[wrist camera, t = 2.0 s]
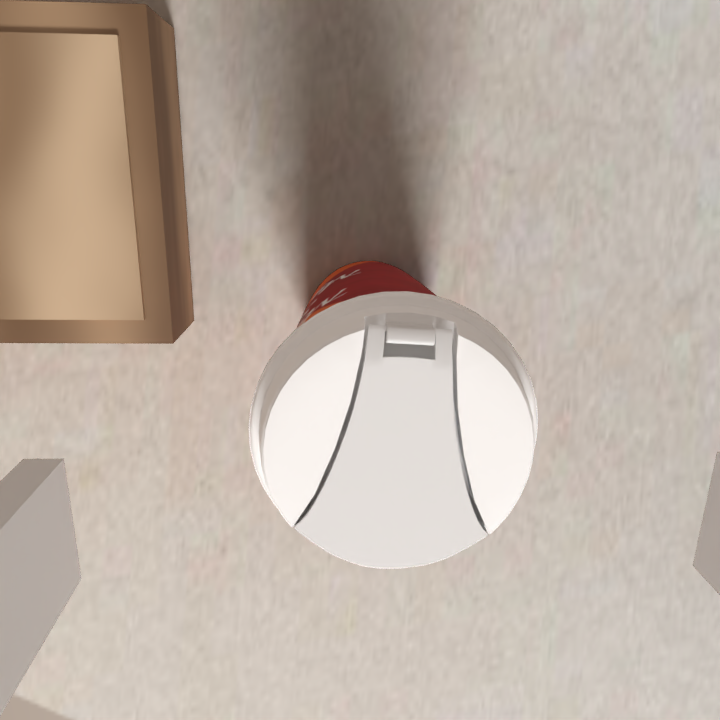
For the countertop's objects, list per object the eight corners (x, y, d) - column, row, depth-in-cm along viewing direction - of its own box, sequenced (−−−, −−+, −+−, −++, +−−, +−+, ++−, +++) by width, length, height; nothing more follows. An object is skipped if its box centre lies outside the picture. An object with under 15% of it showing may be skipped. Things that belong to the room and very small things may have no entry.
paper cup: (288, 230, 27) (243, 292, 13) (459, 242, 27) (580, 312, 14) (282, 395, 29) (239, 587, 16) (440, 403, 30) (528, 597, 16)
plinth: (173, 28, 24) (144, 2, 20) (193, 320, 28) (171, 344, 24) (-138, 20, 24) (-228, -8, 20) (-76, 319, 27) (-143, 343, 24)
